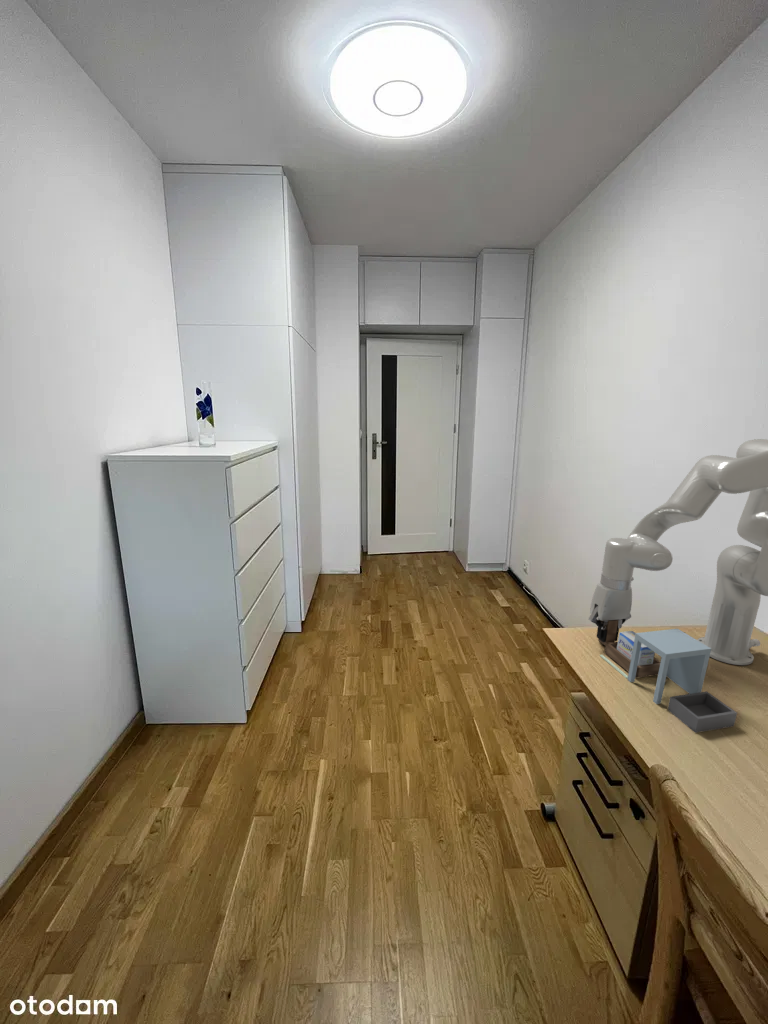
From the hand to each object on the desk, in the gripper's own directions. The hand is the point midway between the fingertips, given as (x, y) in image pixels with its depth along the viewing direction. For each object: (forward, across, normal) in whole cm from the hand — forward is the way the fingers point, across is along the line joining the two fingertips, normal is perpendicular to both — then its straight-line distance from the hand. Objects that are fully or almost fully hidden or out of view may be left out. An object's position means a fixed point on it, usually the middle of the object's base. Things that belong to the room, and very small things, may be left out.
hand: (606, 638), depth 119 cm
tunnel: (+2, 0, +20) cm, 20 cm away
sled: (+1, 0, +7) cm, 7 cm away
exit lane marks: (+2, 0, +10) cm, 10 cm away
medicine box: (+2, +1, +11) cm, 11 cm away
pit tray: (+2, 0, +30) cm, 30 cm away
